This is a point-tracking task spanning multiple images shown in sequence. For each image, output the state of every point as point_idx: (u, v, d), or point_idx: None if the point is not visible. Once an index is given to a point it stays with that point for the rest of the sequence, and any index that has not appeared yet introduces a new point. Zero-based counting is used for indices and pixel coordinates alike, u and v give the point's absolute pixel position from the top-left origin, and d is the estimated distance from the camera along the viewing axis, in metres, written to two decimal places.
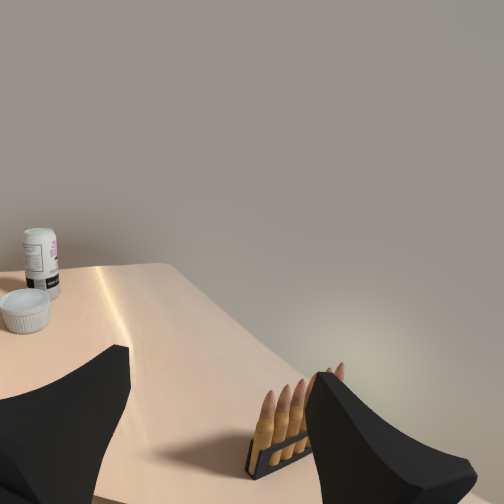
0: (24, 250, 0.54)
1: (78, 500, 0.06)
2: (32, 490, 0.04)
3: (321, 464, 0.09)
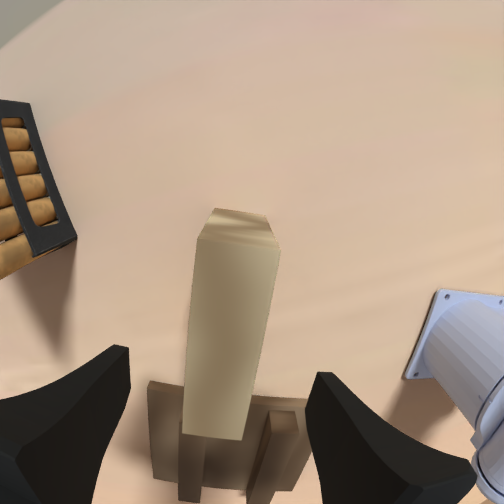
0: None
1: (78, 500, 0.06)
2: (32, 491, 0.04)
3: (321, 464, 0.09)
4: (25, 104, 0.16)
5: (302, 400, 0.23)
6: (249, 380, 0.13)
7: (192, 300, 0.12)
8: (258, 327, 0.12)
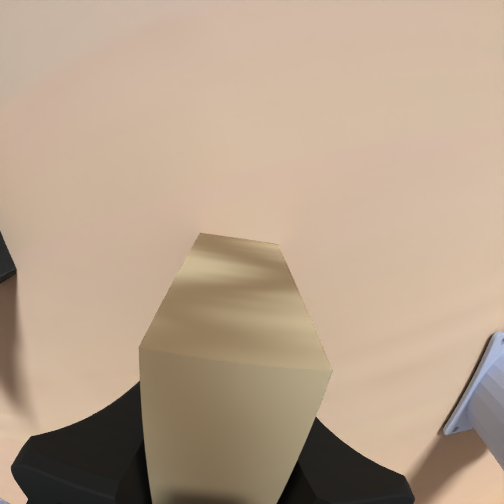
0: None
1: None
2: None
3: None
4: None
5: None
6: None
7: (148, 445, 0.05)
8: (275, 479, 0.06)
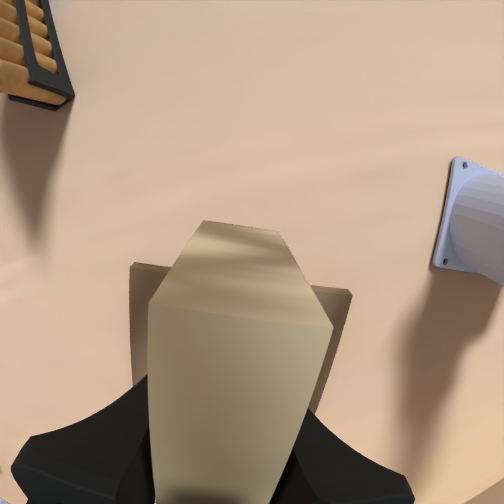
0: None
1: None
2: None
3: None
4: None
5: (317, 287, 0.20)
6: None
7: (151, 412, 0.05)
8: (277, 450, 0.06)
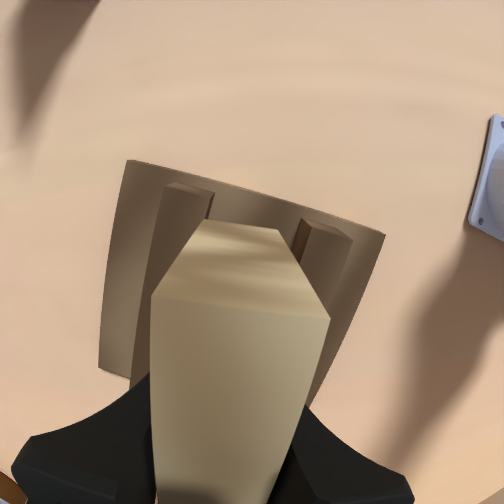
0: None
1: None
2: None
3: None
4: None
5: (346, 220, 0.17)
6: (259, 500, 0.07)
7: (153, 404, 0.06)
8: (277, 442, 0.06)
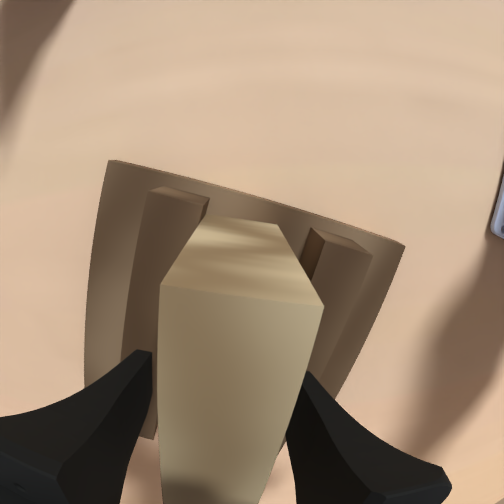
0: None
1: None
2: None
3: (296, 464, 0.09)
4: None
5: (361, 229, 0.14)
6: (258, 483, 0.07)
7: (160, 387, 0.06)
8: (275, 425, 0.07)
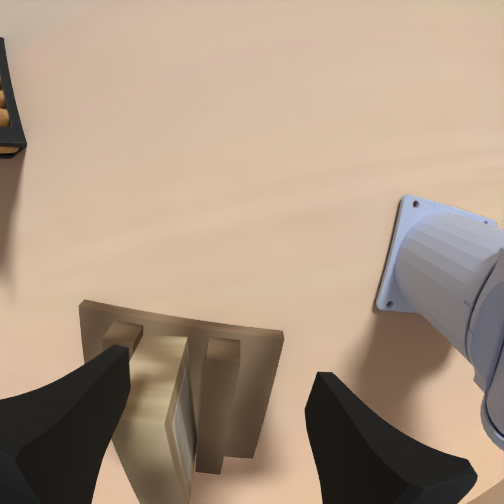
0: None
1: (78, 500, 0.06)
2: (32, 491, 0.04)
3: (321, 464, 0.09)
4: None
5: (250, 328, 0.21)
6: (175, 488, 0.14)
7: (115, 447, 0.13)
8: (167, 463, 0.13)
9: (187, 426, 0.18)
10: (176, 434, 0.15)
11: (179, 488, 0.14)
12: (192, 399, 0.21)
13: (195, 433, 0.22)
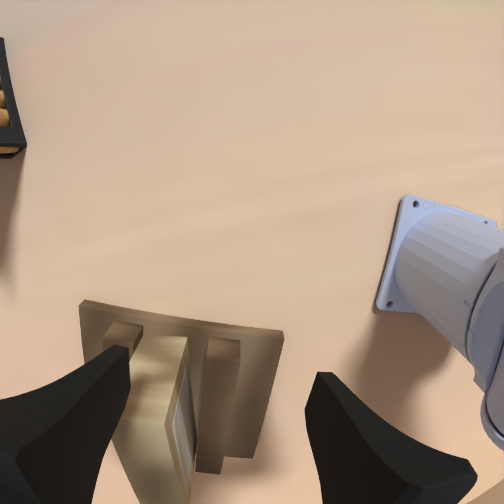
0: None
1: (78, 500, 0.06)
2: (32, 491, 0.04)
3: (321, 464, 0.09)
4: None
5: (250, 328, 0.21)
6: (175, 488, 0.14)
7: (115, 447, 0.13)
8: (167, 463, 0.13)
9: (187, 426, 0.18)
10: (176, 434, 0.15)
11: (179, 488, 0.14)
12: (192, 399, 0.21)
13: (195, 433, 0.22)
